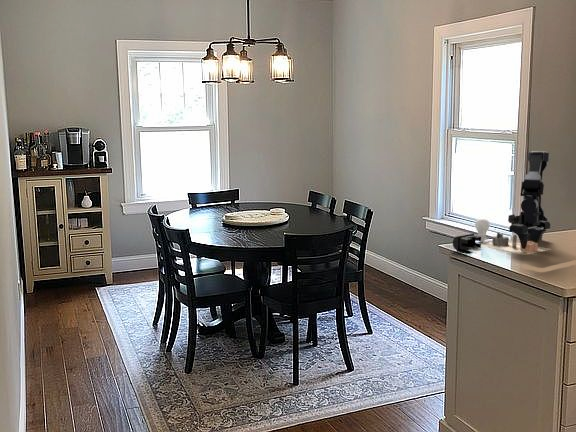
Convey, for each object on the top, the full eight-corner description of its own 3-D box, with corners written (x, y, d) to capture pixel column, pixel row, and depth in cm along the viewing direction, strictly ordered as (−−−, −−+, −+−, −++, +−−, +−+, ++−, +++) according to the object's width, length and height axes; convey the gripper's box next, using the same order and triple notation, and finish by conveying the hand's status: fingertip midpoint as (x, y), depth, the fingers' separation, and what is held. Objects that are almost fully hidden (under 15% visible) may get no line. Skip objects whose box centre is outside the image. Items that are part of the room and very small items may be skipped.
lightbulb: (473, 243, 280) (474, 218, 278) (474, 240, 285) (475, 216, 284) (488, 244, 278) (489, 219, 276) (489, 241, 283) (490, 216, 281)
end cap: (467, 247, 272) (468, 232, 271) (481, 250, 266) (482, 234, 265) (451, 251, 266) (452, 235, 265) (465, 254, 260) (466, 238, 259)
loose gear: (527, 247, 264) (527, 240, 263) (540, 250, 258) (541, 243, 258) (516, 249, 260) (517, 242, 260) (530, 252, 255) (531, 245, 254)
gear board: (502, 242, 280) (503, 227, 279) (551, 252, 260) (552, 236, 259) (476, 247, 271) (476, 232, 270) (524, 258, 251) (525, 241, 250)
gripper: (528, 204, 268) (526, 241, 271) (499, 209, 258) (497, 247, 261) (552, 208, 259) (549, 246, 261) (522, 212, 249) (520, 252, 251)
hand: (528, 247), depth 259 cm, fingers closed on loose gear, 6 cm apart
